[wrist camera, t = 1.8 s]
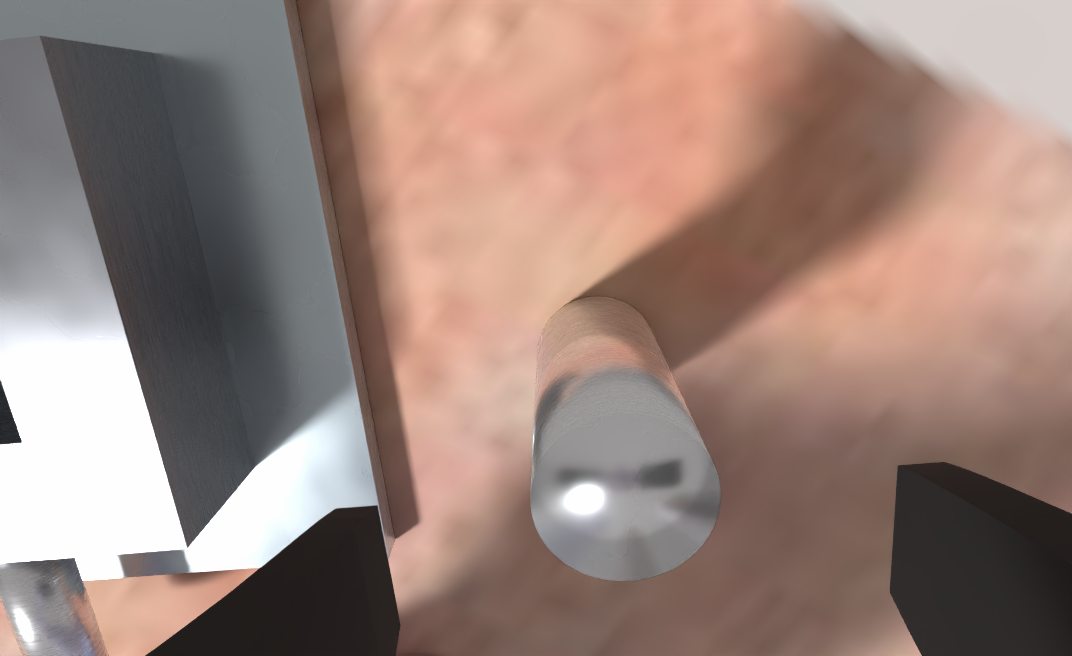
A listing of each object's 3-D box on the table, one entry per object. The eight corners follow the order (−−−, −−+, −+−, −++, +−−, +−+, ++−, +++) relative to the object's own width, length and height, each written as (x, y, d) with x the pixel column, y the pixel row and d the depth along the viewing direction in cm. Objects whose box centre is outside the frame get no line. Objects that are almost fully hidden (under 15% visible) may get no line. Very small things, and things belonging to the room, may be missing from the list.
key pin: (658, 402, 18) (723, 574, 11) (543, 412, 18) (539, 587, 11) (652, 291, 17) (718, 405, 10) (531, 301, 17) (520, 421, 11)
